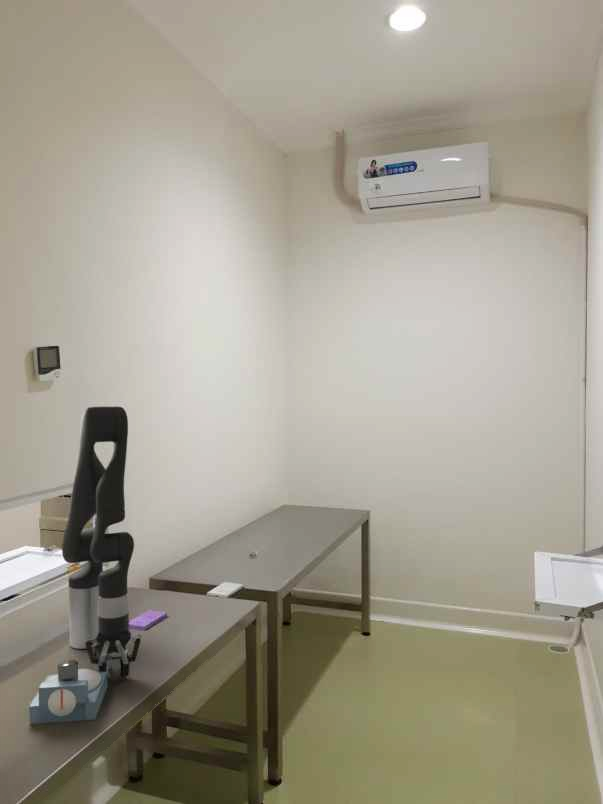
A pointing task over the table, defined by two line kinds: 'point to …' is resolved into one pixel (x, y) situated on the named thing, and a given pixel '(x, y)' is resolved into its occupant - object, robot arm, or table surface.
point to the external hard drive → (225, 589)
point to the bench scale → (69, 698)
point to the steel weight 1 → (68, 670)
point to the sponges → (146, 620)
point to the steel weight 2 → (114, 668)
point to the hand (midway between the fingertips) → (114, 677)
